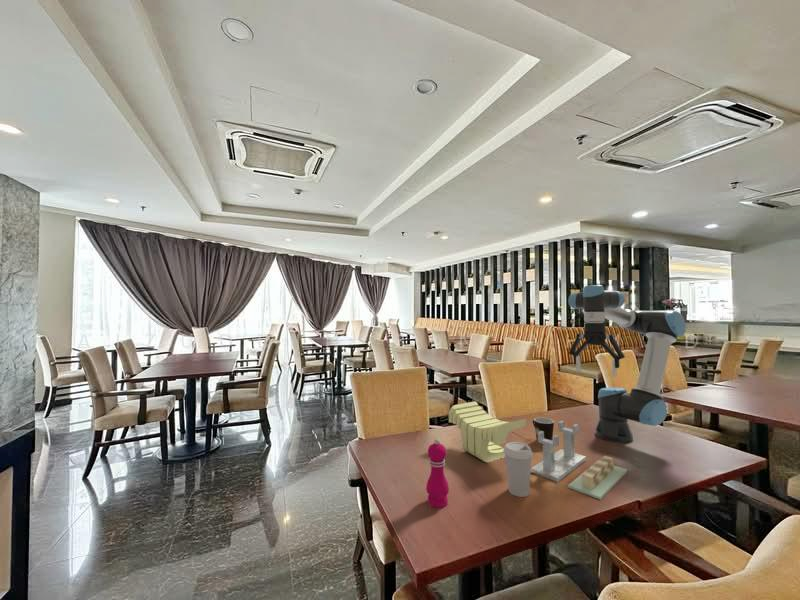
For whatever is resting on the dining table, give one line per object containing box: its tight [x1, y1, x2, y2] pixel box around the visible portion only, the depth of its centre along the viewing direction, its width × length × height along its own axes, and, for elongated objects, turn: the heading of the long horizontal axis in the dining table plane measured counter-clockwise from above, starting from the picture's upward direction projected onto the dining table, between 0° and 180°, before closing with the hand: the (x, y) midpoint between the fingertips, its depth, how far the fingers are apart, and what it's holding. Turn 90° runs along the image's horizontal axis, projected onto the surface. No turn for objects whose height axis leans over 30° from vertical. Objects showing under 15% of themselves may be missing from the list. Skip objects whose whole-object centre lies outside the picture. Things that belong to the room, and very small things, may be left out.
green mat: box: [567, 460, 628, 501], centre depth 120 cm, size 28×10×1 cm, turn 131°
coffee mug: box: [532, 417, 555, 445], centre depth 156 cm, size 12×9×10 cm
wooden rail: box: [581, 455, 615, 489], centre depth 120 cm, size 22×3×4 cm, turn 131°
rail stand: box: [530, 420, 587, 483], centre depth 131 cm, size 26×10×14 cm, turn 131°
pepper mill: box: [426, 438, 450, 509], centre depth 107 cm, size 7×7×20 cm
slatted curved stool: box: [448, 401, 527, 463], centre depth 142 cm, size 30×16×18 cm, turn 28°
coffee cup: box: [503, 441, 534, 498], centre depth 112 cm, size 10×10×15 cm
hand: (596, 373), depth 137 cm, fingers open, 13 cm apart
